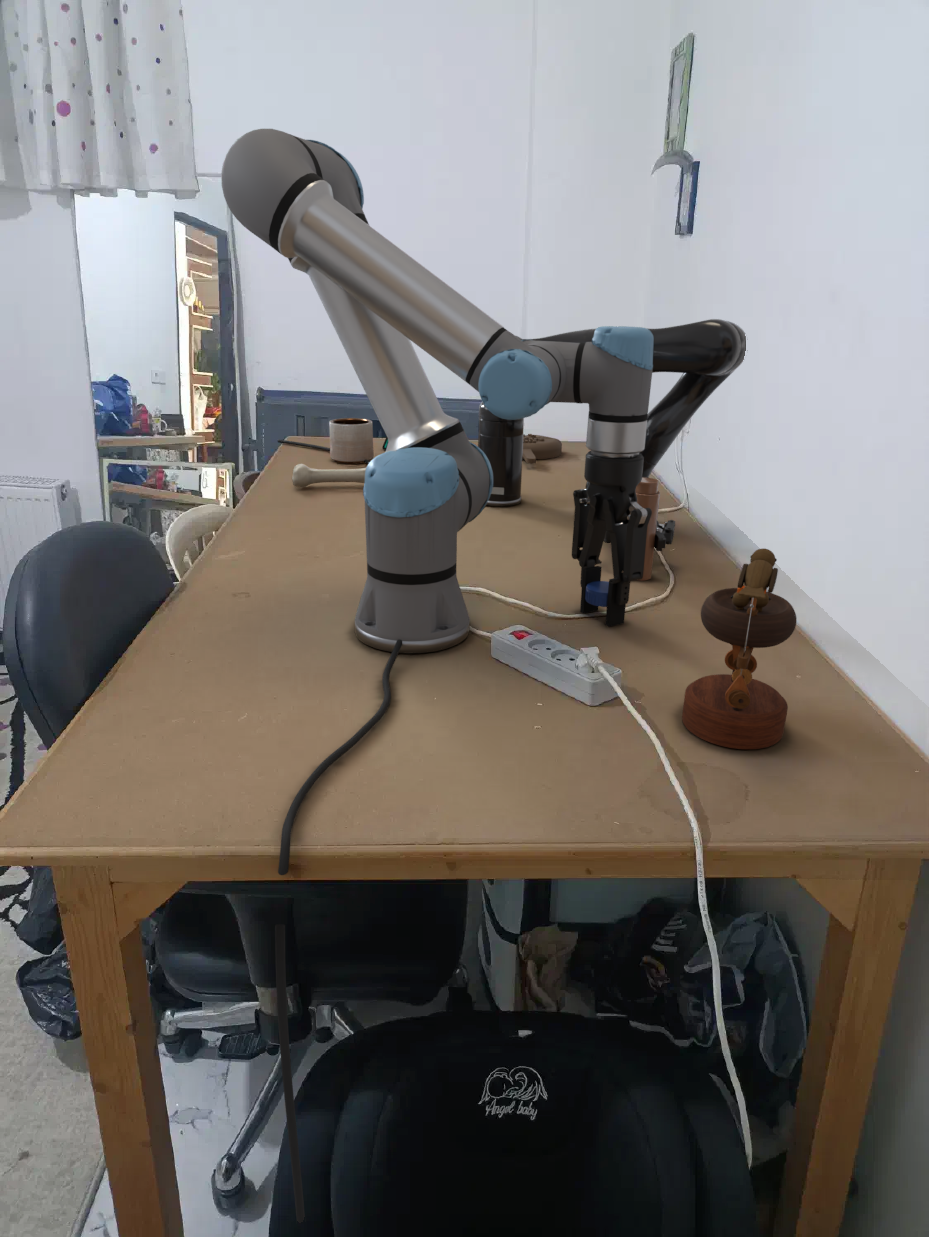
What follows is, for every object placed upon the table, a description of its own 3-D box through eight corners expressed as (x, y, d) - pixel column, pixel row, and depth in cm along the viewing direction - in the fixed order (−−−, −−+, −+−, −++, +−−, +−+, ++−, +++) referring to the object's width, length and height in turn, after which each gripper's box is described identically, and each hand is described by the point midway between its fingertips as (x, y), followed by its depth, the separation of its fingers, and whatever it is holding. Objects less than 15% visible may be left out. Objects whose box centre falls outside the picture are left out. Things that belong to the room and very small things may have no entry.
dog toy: (383, 482, 192) (382, 460, 190) (385, 488, 186) (384, 465, 184) (292, 484, 189) (291, 461, 187) (292, 490, 183) (290, 467, 181)
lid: (604, 610, 115) (605, 595, 114) (577, 599, 118) (578, 585, 117) (629, 602, 118) (630, 588, 117) (601, 592, 121) (603, 578, 120)
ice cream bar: (488, 468, 206) (489, 451, 205) (481, 446, 232) (481, 431, 231) (574, 469, 207) (575, 452, 206) (557, 447, 233) (558, 432, 232)
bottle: (620, 571, 137) (629, 476, 131) (646, 571, 137) (656, 476, 132) (627, 581, 133) (636, 483, 127) (654, 580, 133) (665, 483, 127)
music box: (804, 761, 84) (822, 570, 76) (690, 761, 85) (697, 574, 78) (770, 691, 98) (782, 524, 90) (673, 692, 99) (677, 527, 92)
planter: (327, 456, 217) (325, 418, 214) (369, 454, 220) (368, 417, 217) (334, 465, 208) (332, 425, 204) (377, 463, 211) (376, 424, 207)
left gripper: (685, 461, 105) (666, 634, 113) (594, 438, 119) (583, 593, 128) (639, 467, 101) (623, 645, 110) (550, 442, 115) (542, 602, 124)
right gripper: (586, 493, 145) (599, 520, 129) (670, 495, 145) (693, 522, 129) (583, 535, 148) (596, 567, 132) (665, 537, 148) (687, 568, 132)
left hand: (601, 617), depth 119 cm, fingers closed on lid, 5 cm apart
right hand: (644, 544), depth 130 cm, fingers closed on bottle, 4 cm apart
